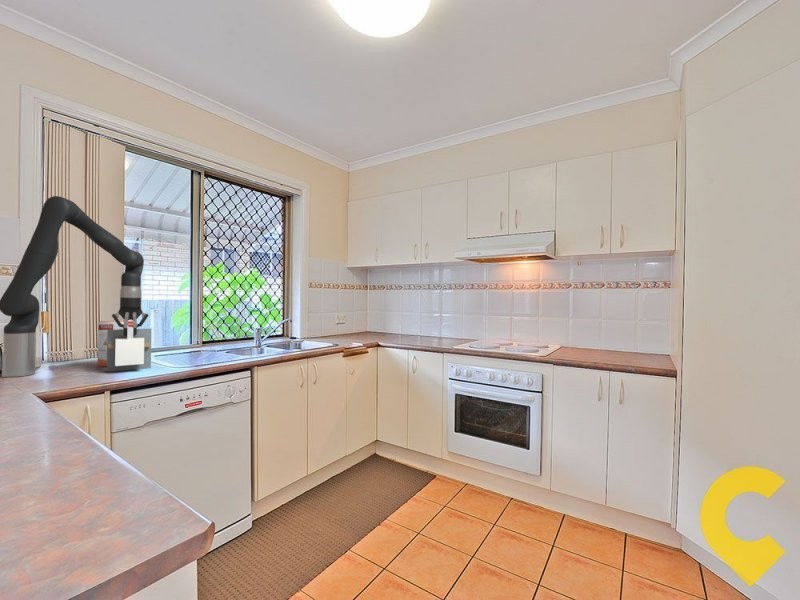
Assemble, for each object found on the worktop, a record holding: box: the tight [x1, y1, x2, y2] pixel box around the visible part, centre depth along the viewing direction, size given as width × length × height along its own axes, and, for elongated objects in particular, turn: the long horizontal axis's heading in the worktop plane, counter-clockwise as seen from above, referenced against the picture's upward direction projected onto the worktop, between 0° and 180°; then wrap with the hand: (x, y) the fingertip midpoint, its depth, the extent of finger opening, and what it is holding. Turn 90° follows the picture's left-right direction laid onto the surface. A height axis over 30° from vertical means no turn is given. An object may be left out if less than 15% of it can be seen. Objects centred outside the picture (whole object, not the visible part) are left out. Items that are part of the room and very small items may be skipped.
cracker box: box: [97, 320, 133, 368], centre depth 179 cm, size 14×6×21 cm, turn 121°
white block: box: [115, 327, 144, 366], centre depth 165 cm, size 10×7×16 cm
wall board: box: [106, 328, 152, 373], centre depth 170 cm, size 16×8×18 cm, turn 128°
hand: (130, 336), depth 164 cm, fingers closed on white block
